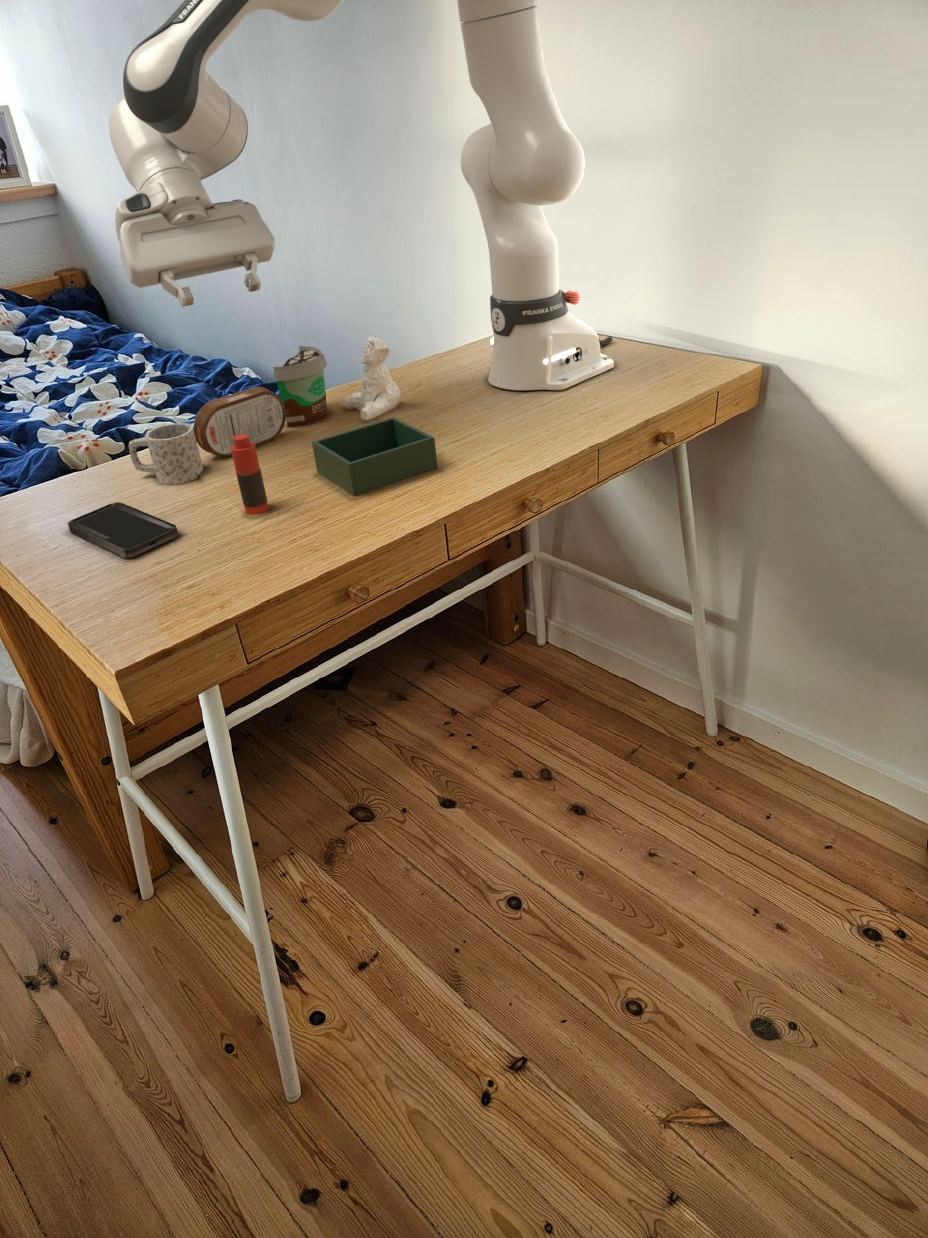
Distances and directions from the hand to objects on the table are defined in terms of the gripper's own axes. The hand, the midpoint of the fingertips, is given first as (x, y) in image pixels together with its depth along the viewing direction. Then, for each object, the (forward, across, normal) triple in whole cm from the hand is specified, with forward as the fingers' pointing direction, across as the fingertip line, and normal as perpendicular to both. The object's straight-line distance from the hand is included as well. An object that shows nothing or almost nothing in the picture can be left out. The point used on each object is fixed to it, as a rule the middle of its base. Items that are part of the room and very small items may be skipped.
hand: (222, 295), depth 119 cm
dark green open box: (+28, -11, -6) cm, 31 cm away
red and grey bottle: (+28, +7, -6) cm, 29 cm away
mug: (+13, +12, -21) cm, 28 cm away
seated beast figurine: (+12, -24, -23) cm, 35 cm away
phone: (+23, +23, -11) cm, 34 cm away
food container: (+8, -15, -26) cm, 31 cm away
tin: (+12, -1, -23) cm, 26 cm away
